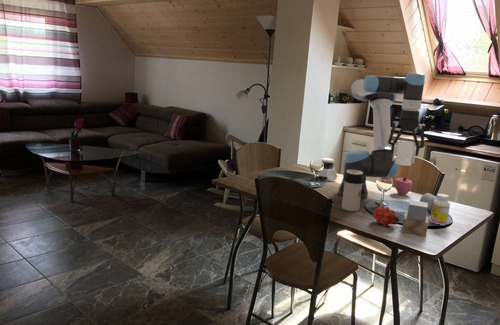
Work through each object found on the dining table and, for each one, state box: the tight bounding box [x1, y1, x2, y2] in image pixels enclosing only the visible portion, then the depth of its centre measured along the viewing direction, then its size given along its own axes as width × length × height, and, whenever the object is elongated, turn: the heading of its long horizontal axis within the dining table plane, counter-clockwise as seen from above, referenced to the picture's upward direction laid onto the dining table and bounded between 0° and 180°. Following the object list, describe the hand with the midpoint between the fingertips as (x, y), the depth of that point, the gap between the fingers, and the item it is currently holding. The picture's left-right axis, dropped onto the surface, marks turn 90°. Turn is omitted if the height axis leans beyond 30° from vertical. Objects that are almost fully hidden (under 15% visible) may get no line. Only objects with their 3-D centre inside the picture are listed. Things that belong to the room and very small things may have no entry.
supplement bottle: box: [429, 193, 451, 226], centre depth 182 cm, size 7×7×13 cm
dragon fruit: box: [371, 205, 400, 228], centre depth 176 cm, size 8×8×12 cm
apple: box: [393, 177, 414, 196], centre depth 224 cm, size 10×9×10 cm
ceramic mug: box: [419, 192, 437, 212], centre depth 200 cm, size 11×8×8 cm
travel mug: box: [341, 170, 363, 212], centre depth 193 cm, size 8×8×18 cm
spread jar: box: [317, 157, 338, 182], centre depth 247 cm, size 12×11×12 cm
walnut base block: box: [401, 212, 429, 238], centre depth 171 cm, size 9×9×6 cm
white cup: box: [395, 139, 416, 167], centre depth 184 cm, size 8×8×10 cm
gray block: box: [407, 199, 428, 222], centre depth 170 cm, size 7×7×6 cm
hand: (403, 161), depth 184 cm, fingers closed on white cup, 7 cm apart
